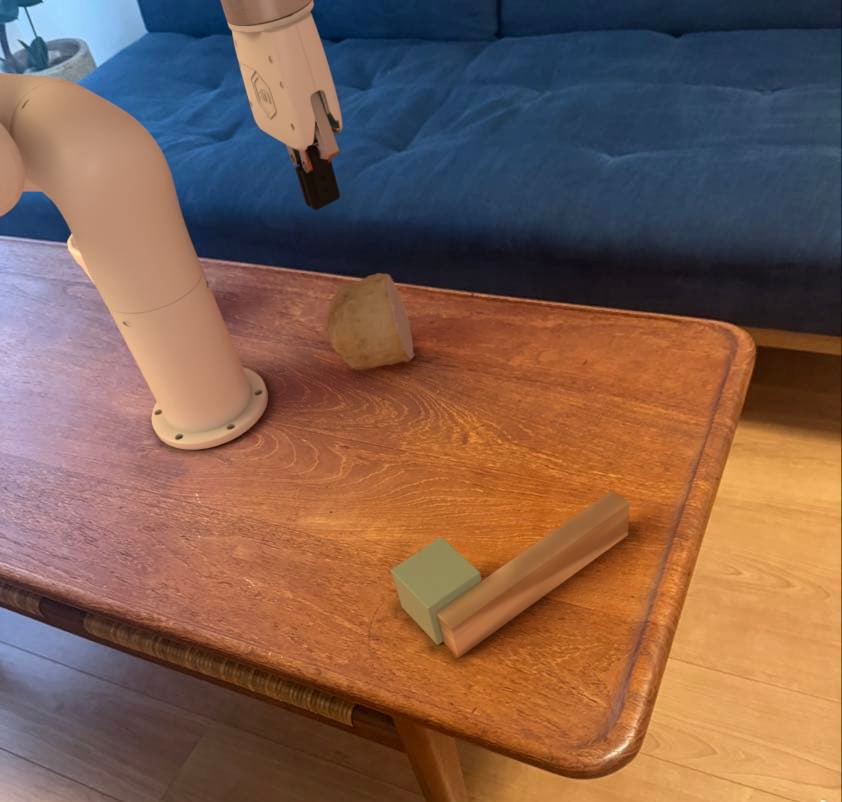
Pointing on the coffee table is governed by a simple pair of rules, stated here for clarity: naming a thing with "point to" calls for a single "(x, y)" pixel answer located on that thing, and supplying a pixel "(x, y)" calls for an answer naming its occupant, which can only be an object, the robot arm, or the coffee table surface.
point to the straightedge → (533, 573)
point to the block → (433, 583)
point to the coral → (370, 323)
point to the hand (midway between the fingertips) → (323, 201)
